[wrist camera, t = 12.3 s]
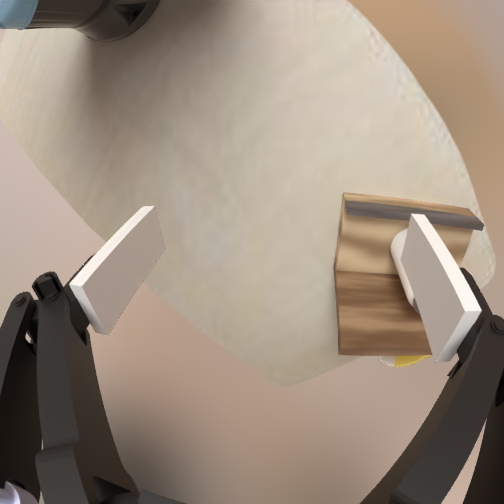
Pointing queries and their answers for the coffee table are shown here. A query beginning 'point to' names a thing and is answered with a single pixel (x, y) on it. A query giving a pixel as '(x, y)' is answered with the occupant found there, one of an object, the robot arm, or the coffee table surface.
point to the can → (396, 253)
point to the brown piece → (386, 272)
